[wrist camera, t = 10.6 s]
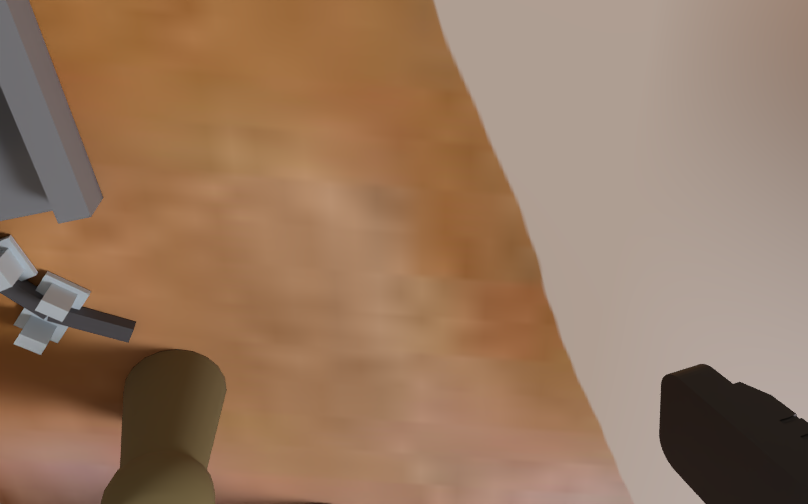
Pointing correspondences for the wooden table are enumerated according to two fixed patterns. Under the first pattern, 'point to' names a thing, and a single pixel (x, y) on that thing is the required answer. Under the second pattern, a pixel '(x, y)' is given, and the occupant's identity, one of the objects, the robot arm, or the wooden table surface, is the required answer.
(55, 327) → the clip
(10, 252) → the clip
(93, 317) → the cable
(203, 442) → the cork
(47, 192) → the end holder
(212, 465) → the wooden table surface
